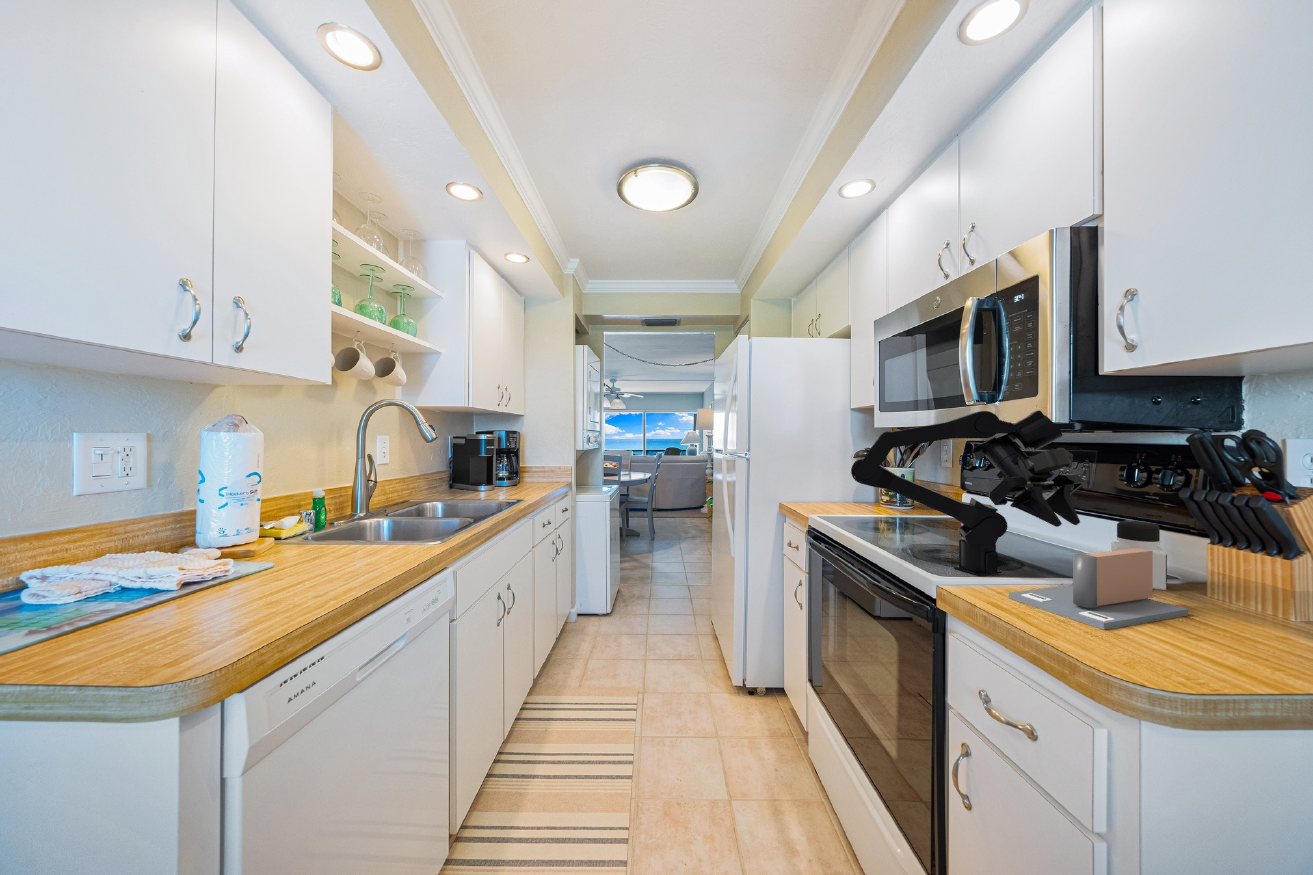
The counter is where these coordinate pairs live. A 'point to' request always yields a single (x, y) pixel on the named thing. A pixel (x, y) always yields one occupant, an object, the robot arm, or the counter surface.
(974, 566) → the robot arm
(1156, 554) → the medicine bottle
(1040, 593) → the label board
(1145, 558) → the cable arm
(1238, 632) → the counter surface
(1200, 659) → the counter surface
